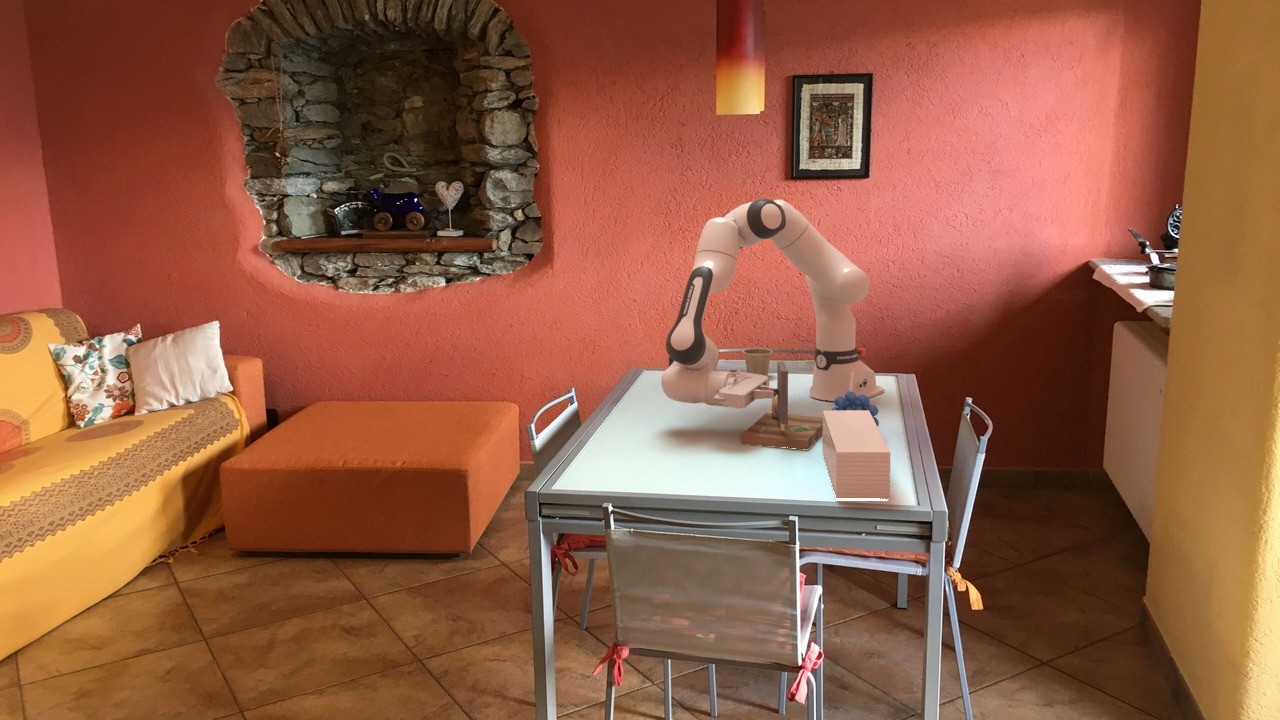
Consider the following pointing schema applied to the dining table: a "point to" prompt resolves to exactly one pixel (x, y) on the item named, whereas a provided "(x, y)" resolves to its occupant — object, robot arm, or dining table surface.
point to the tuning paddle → (781, 396)
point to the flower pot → (757, 360)
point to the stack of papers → (855, 454)
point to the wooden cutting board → (784, 432)
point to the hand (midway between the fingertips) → (775, 393)
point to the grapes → (856, 404)
